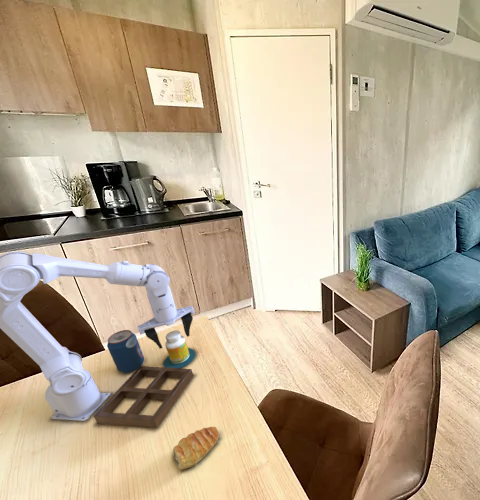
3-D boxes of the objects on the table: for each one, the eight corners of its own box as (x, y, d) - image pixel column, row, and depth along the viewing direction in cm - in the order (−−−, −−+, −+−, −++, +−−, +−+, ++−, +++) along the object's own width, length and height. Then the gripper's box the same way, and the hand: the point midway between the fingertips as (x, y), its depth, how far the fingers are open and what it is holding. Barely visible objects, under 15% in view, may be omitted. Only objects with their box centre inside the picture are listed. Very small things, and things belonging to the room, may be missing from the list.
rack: (97, 423, 72) (92, 415, 71) (143, 373, 86) (140, 365, 85) (157, 428, 71) (154, 420, 70) (193, 376, 86) (191, 368, 84)
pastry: (212, 424, 72) (209, 414, 70) (225, 443, 68) (222, 433, 66) (171, 454, 65) (167, 443, 64) (183, 476, 61) (179, 466, 60)
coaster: (157, 369, 88) (157, 368, 88) (175, 348, 96) (175, 347, 96) (185, 370, 87) (185, 370, 87) (201, 349, 96) (200, 348, 95)
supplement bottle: (186, 363, 90) (178, 339, 86) (167, 365, 89) (159, 341, 85) (192, 351, 94) (185, 327, 90) (174, 352, 94) (167, 329, 90)
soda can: (150, 362, 90) (139, 332, 85) (127, 378, 85) (113, 347, 80) (137, 355, 93) (125, 326, 88) (113, 370, 87) (99, 340, 82)
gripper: (136, 321, 76) (150, 359, 81) (193, 300, 85) (203, 335, 91) (130, 310, 80) (144, 347, 86) (186, 291, 90) (195, 325, 95)
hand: (174, 340), depth 89 cm, fingers open, 7 cm apart
